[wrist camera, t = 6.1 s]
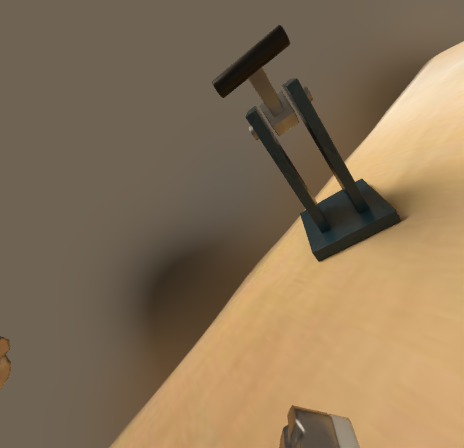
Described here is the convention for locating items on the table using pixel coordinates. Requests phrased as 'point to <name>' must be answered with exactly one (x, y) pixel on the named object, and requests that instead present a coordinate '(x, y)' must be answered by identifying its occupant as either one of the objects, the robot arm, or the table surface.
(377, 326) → the table surface
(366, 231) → the bracket
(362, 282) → the table surface
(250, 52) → the lever
